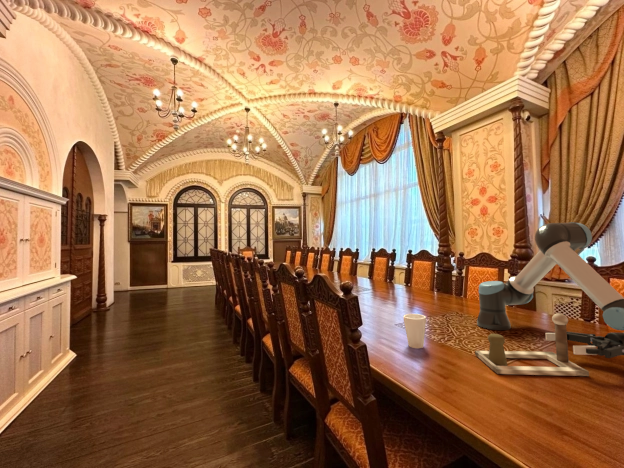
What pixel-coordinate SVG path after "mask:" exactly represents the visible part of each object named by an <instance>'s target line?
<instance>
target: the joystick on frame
mask: <svg viewBox="0 0 624 468" xmlns="http://www.w3.org/2000/svg"><path fill="white" fill-rule="evenodd" d="M551 320H552V322H553V324H554V333H555V339H556V341H555V352H554V351H526V350H525V351H524V350H523V351H519V350H517V351H516V350H515V351H514V350H512V351H510V350H504V351H505V356H506V359H541V360H543V359H545V360H548V361H549V362H551V363H553V364H554V365H557V366H531V365H529V366H528V365H527V366H523V365H522V366H521V365H507V366H496V365H495V364H494V363H492V362H491V361H490V360H489V350H474V354H475V356H476V357H477V358H479V359H480V360H481V361H482V362H483V363H484V364H486V366H487V367H489V368H490V369H491V370H492V371H493V372H495V373H496V375H526V376H527V375H531V376H534V375H535V376H567V377H568V376H572V377H573V376H574V377H575V376H576V377H589V376H590V371H589V370H587V369H585V368H583V367H581V366H579V365H577V364H576V363H574V362H572V361H570V360H569V359H570V358H569V348H568V347H569V346H568V340H567V332H568V331H567V324H568V322H569V319H568V317H567V316H566V315H565V314H563V313H559V312H558V313H555V314H553V315H552V317H551Z"/></svg>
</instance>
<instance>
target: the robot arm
mask: <svg viewBox="0 0 624 468" xmlns="http://www.w3.org/2000/svg"><path fill="white" fill-rule="evenodd" d="M592 240H593V235H592V231H591V230H590V228H589V227H588V226H587V225H585V224H583V223H580V222H574V221H573V222H572V221H571V222H548V223H545V224H543V225H541V226H540V227H538V229H537V230H536V232H535V233H534V241H535V244H536V247H537V248H538V252H537V253H536V254H534V256H533V257H532V259H530V261H529V262H528V263H527V264H526V265H525V266H524V267H523V269H522V270H521V271H520V272H519V273H517V275H516V276H511V277H510V278H509V279H508V280H507V281H506V282H505V283H504V282H503V281H499V280H491V281H483V282H481V283H480V284H478V297H479V298H478V299H479V313H478V317H477V319H476V325H477V326H478V327H479V328H482V327H483V329H486V328H487V330H494V331H508V330H510V329H511V328H512V326H511V322H510V319H509V317H508V315H507V311H506V310H507V309H506V306H515V305H525V304H528V303H529V302H531V301H532V299H533V298H534V290H535V288H534V287H535V286H536V285H537V284H538V283H539V282H540V281H541V280H542V279H543V278H544V277H545V276H546V275H547V274H548V273H549V272H550V271H551V270H552V269H554V267H555V266H556V265H558V267H559V268H560V269H561V270H562V271H564V273H565V274H566V275H567V276H568V277H569V278H570V279H571V280H572V281H573V282H574V283H575V284H576V285H577V286H578V287H579V288H580V289H581V290H582V291H583V292H584V293H585V294H586V295H587V296H588V297H589V299H591V301H592V302H594V304H595V305H597V307H599V309H600V310H601V311H603V313H602V318H603V321H604V323H605V324H606V325H607V326H608V327H610V328H612V329H613V330H616V331H624V296H623V295H622V294H620V292H618V291H617V290H616V289H615V288H614V287H613V286H612V285H611V284H610V283H609V282H608V281H607V280H606V279H604V277H602V276H601V274H600V273H599V272H597V271H596V270H595V269H594V268H593V267H592V266H591V265H590V264H589V263H588V262H587V261H586V260H585V259H584V258H582V256H580V255H579V254H578V253H577V252H576V251H577V250H580V249H584V248H586V247H588V246H589V245H590V244H591V242H592ZM545 341H547V342H548V341H549V342H550V341H551V342H552V341H553V342H556V339H555V332H545ZM567 341H570V342H575V343H576V342H577V343H583V344H586V345H572V351H573V355H583V356H584V355H585V356H590V355H592V356H597V355H598V356H600V357H602V356H604V357H605V358H606V359H611V358H615V357H620V356H624V332H615V331H613V332H612V331H611V332H608V333H607V334H606V335H604V336H603V335H602V336H601V335H598V336H597V335H596V334H595V333H584V332H575V331H574V332H573V331H567Z"/></svg>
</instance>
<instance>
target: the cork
mask: <svg viewBox="0 0 624 468" xmlns="http://www.w3.org/2000/svg"><path fill="white" fill-rule="evenodd" d="M487 340H488V343H489V350H488V351H489V358H488V359H489V360H490V361H491V362H492V363H494V364H495V365H496V366H508V362H507V358H506V356H505V351H506V350H505V348H504V345H505V342H506V340H505V337H504V336H503V335H501V334H499V333H490V334H488V336H487Z"/></svg>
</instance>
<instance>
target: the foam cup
mask: <svg viewBox="0 0 624 468" xmlns="http://www.w3.org/2000/svg"><path fill="white" fill-rule="evenodd" d="M403 323H404V328H405V333H406V339H407V345H408V346H409V348H413V349H422V348H424V345H425V336H426V335H425V332H426V324H427V317H426V316H425V315H423V314H418V313H407V314H406V313H405V314H404V315H403Z"/></svg>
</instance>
